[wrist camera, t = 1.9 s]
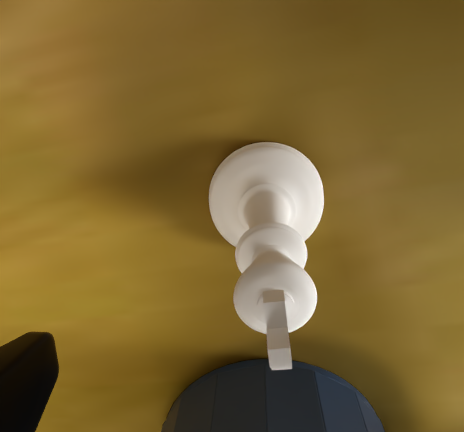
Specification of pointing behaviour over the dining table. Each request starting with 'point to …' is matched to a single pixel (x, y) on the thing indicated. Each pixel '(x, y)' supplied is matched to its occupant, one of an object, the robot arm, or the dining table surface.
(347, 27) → the dining table surface
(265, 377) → the pot
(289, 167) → the chess piece
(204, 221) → the dining table surface
